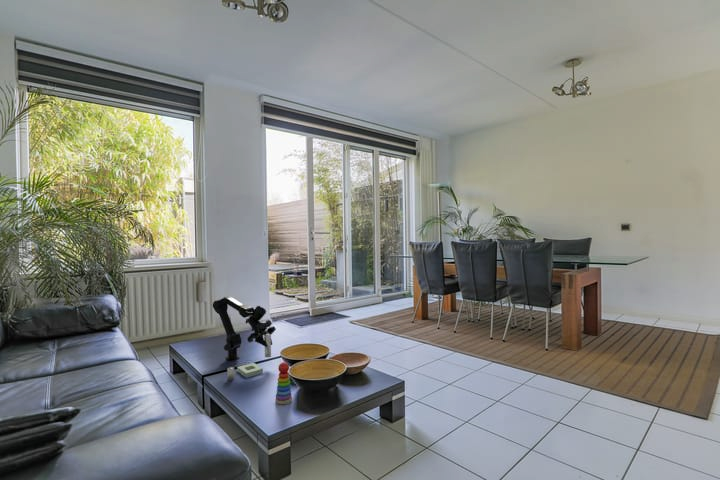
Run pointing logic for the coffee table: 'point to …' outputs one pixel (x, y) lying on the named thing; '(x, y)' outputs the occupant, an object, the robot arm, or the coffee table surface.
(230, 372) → the short pin
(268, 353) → the tall pin
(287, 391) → the stacking toy
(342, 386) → the coffee table surface
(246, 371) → the hole plate
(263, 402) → the coffee table surface
